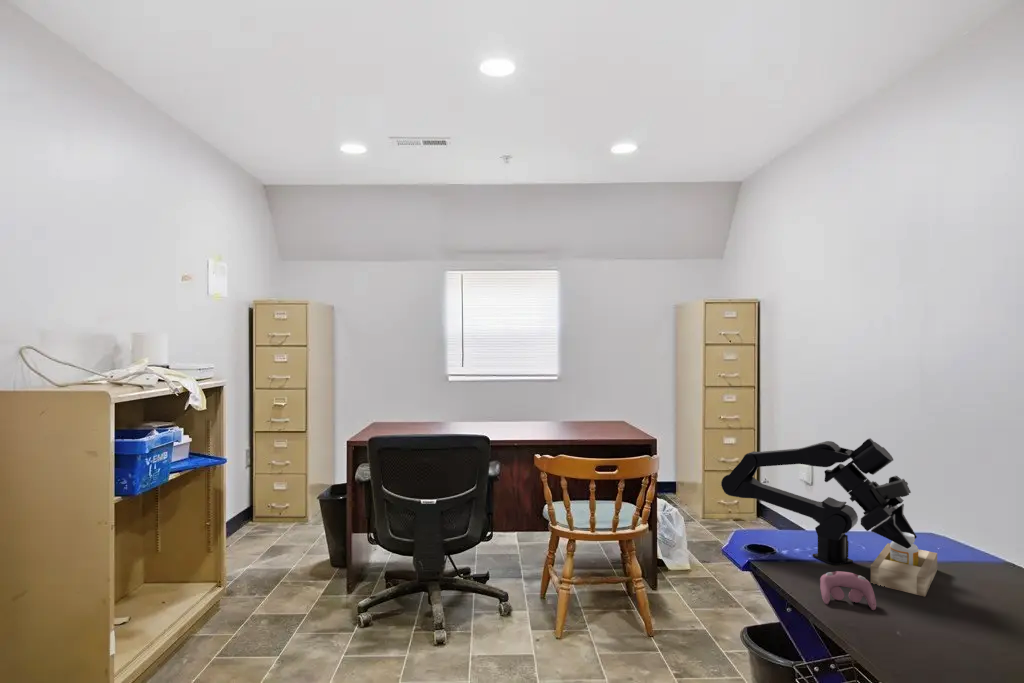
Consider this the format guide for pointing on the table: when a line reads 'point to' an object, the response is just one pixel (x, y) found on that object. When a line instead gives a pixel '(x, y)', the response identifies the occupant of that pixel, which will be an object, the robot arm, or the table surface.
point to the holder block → (904, 572)
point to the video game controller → (845, 579)
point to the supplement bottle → (905, 551)
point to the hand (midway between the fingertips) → (912, 542)
